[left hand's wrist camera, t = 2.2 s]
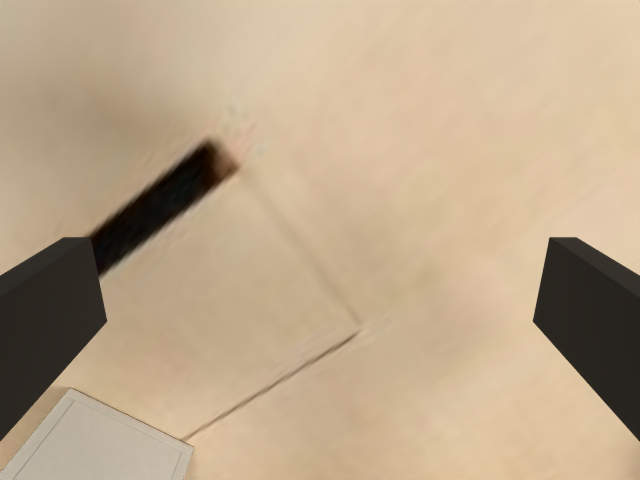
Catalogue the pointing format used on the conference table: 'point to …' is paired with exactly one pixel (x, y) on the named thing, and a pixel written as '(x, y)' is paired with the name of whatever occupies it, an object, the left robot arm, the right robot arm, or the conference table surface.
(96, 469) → the chest
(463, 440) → the conference table surface
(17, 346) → the left robot arm
